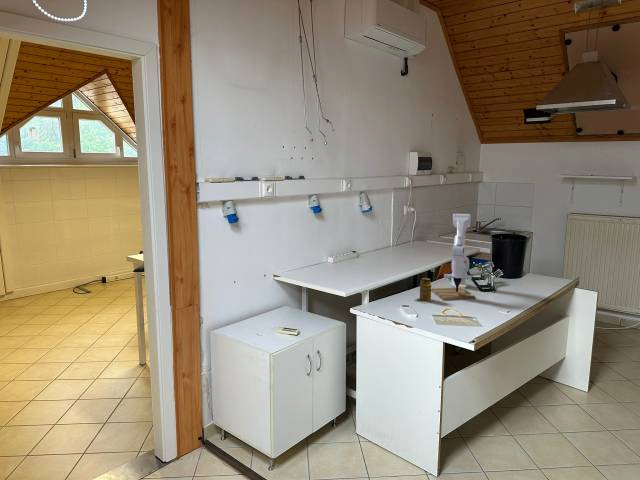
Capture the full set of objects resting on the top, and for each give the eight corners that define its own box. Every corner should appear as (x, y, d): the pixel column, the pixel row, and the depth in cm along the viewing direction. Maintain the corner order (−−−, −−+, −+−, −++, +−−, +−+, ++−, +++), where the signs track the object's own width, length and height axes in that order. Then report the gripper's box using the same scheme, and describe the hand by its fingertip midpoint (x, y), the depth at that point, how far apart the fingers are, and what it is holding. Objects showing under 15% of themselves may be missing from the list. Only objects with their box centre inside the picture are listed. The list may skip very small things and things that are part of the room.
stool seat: (431, 291, 276) (431, 288, 276) (461, 289, 278) (461, 286, 278) (443, 300, 258) (443, 297, 258) (474, 298, 261) (475, 295, 260)
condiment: (434, 300, 260) (434, 278, 257) (425, 303, 254) (425, 281, 252) (422, 297, 265) (423, 276, 263) (413, 300, 259) (414, 279, 257)
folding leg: (459, 288, 273) (459, 283, 273) (465, 289, 272) (465, 284, 272) (457, 294, 262) (457, 289, 262) (464, 294, 261) (464, 289, 261)
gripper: (444, 268, 259) (443, 292, 262) (472, 269, 255) (470, 294, 258) (444, 265, 266) (443, 289, 268) (471, 266, 262) (470, 290, 264)
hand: (457, 291), depth 263 cm, fingers closed, pressing on folding leg
